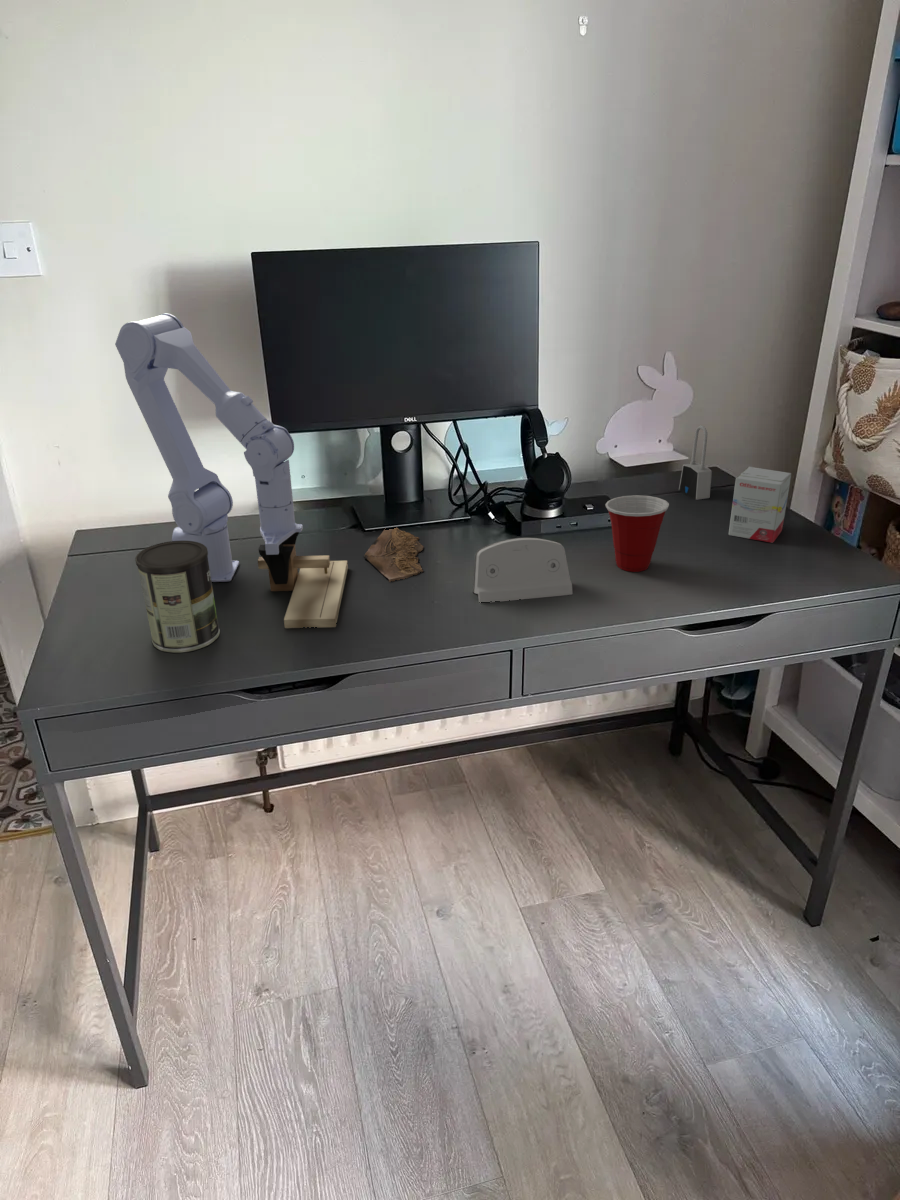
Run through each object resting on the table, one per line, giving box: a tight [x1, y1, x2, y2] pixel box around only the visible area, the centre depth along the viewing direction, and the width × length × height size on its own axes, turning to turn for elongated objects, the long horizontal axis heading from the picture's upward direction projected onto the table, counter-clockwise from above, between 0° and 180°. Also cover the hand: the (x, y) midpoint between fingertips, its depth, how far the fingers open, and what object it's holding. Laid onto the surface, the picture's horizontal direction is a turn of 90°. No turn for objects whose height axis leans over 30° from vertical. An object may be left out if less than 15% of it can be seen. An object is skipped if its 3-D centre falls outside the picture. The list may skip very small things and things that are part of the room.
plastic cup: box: [604, 494, 670, 573], centre depth 152 cm, size 11×11×12 cm
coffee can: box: [134, 540, 221, 654], centre depth 131 cm, size 10×10×14 cm
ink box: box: [728, 466, 792, 544], centre depth 165 cm, size 9×9×12 cm
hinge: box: [472, 537, 573, 604], centre depth 146 cm, size 17×5×10 cm, turn 100°
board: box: [283, 560, 349, 629], centre depth 145 cm, size 8×22×2 cm, turn 1°
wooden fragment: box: [363, 527, 424, 583], centre depth 162 cm, size 26×11×1 cm, turn 2°
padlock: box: [678, 425, 713, 501], centre depth 184 cm, size 7×4×15 cm, turn 20°
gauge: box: [257, 543, 331, 592], centre depth 148 cm, size 12×5×7 cm, turn 91°
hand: (283, 576), depth 149 cm, fingers closed on gauge, 5 cm apart
